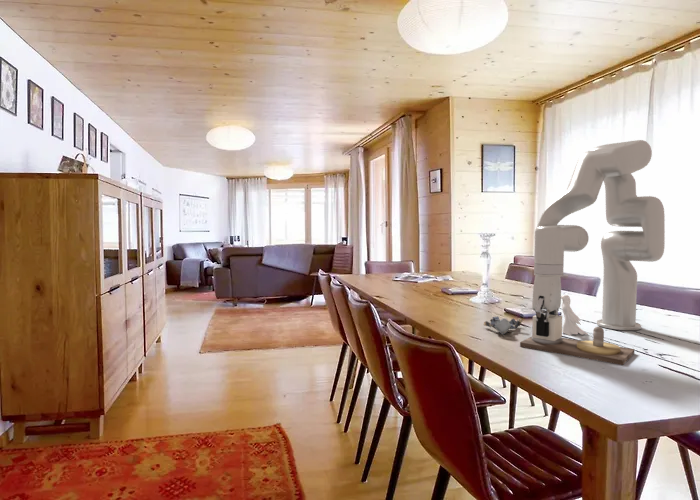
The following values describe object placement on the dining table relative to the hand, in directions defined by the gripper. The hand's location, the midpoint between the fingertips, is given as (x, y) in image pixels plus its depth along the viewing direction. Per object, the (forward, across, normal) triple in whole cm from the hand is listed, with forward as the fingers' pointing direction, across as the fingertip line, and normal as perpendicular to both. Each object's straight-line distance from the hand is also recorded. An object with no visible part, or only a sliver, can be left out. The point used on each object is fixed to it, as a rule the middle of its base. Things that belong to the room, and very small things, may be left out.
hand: (547, 332), depth 127 cm
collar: (+1, 0, 0) cm, 1 cm away
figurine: (+4, -19, +2) cm, 19 cm away
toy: (+4, -8, -16) cm, 18 cm away
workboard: (+3, 0, +8) cm, 8 cm away
